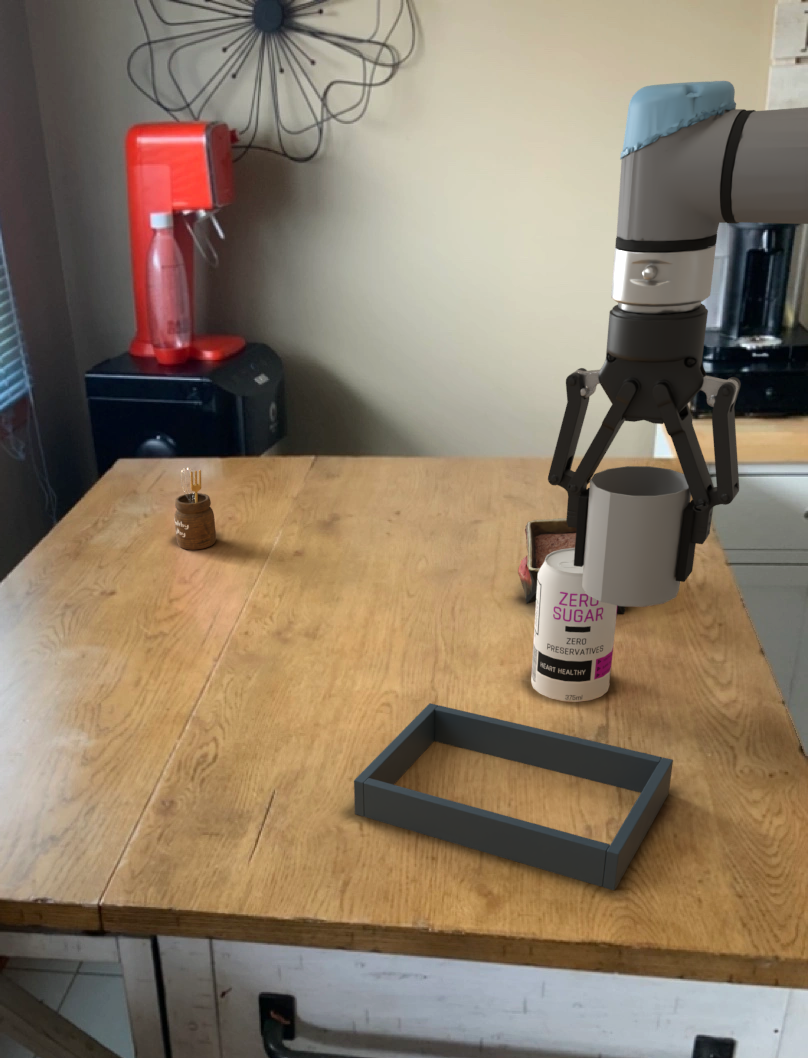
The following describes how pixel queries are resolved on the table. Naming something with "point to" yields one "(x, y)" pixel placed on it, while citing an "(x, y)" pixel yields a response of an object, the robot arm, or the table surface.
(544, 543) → the baking dish
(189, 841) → the table surface
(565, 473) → the robot arm
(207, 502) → the utensil holder
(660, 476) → the cup
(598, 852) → the dark grey open frame
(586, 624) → the supplement can
